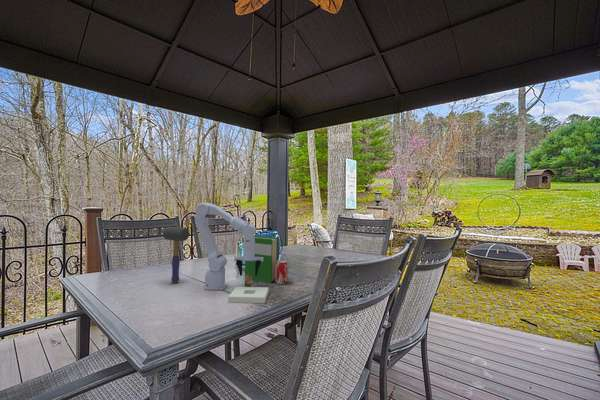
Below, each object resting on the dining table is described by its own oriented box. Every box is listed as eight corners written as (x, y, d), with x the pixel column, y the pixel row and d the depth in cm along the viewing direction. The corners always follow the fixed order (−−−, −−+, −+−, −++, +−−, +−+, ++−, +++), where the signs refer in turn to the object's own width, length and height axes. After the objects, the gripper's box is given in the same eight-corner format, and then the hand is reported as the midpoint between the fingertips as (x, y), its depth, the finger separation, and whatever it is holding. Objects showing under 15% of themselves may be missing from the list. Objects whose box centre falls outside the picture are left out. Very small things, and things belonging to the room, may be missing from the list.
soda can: (283, 285, 146) (283, 263, 146) (272, 283, 150) (272, 261, 150) (290, 282, 152) (290, 260, 152) (280, 280, 156) (280, 259, 156)
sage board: (228, 302, 121) (228, 296, 121) (236, 291, 135) (236, 286, 135) (264, 303, 121) (264, 297, 121) (268, 292, 135) (268, 287, 135)
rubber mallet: (160, 283, 147) (161, 226, 147) (171, 279, 154) (172, 225, 154) (179, 285, 143) (180, 227, 143) (189, 281, 150) (190, 226, 150)
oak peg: (243, 290, 138) (244, 276, 138) (245, 287, 142) (245, 274, 142) (251, 290, 138) (251, 276, 138) (252, 287, 142) (252, 274, 142)
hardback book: (277, 280, 156) (278, 237, 156) (270, 283, 150) (271, 239, 150) (252, 275, 164) (253, 235, 164) (244, 279, 158) (245, 236, 158)
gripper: (232, 249, 136) (232, 277, 136) (262, 250, 136) (261, 277, 136) (236, 247, 143) (235, 273, 143) (264, 247, 143) (263, 274, 143)
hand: (248, 275), depth 140 cm, fingers open, 7 cm apart
